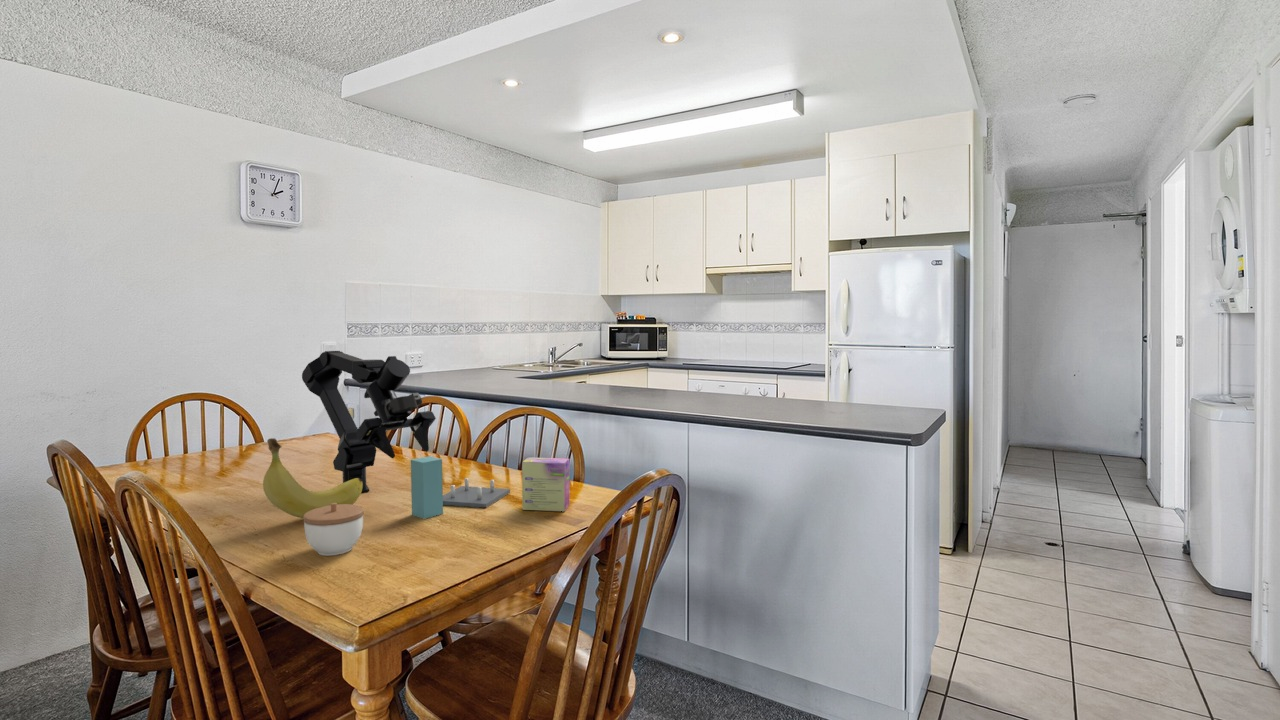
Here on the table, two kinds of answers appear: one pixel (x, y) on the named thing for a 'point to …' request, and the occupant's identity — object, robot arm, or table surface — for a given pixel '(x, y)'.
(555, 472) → the box
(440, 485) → the teal block
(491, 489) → the base plate
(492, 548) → the table surface
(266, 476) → the banana
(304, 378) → the robot arm
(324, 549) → the lidded jar
